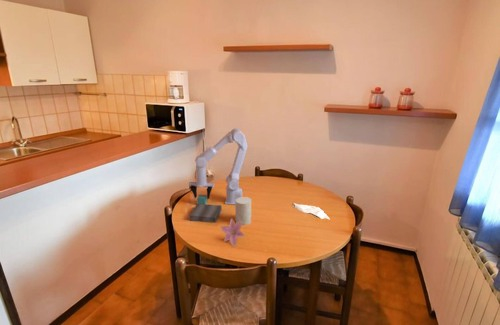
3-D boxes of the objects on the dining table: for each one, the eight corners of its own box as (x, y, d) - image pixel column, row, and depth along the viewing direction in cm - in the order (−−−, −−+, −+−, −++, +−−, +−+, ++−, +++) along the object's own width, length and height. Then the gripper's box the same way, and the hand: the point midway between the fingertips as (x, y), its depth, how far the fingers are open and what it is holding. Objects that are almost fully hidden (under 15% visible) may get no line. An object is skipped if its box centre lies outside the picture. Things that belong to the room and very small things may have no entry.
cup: (239, 226, 140) (239, 205, 137) (233, 219, 147) (233, 198, 143) (253, 222, 144) (254, 201, 140) (246, 216, 151) (246, 195, 147)
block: (207, 202, 166) (206, 195, 164) (205, 206, 161) (204, 198, 160) (199, 202, 166) (199, 194, 165) (197, 205, 162) (197, 197, 160)
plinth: (221, 210, 157) (221, 205, 156) (215, 222, 143) (215, 217, 142) (197, 208, 158) (197, 203, 157) (189, 220, 145) (189, 215, 144)
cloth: (337, 218, 151) (337, 214, 150) (319, 225, 144) (319, 221, 143) (304, 200, 172) (304, 197, 171) (287, 205, 165) (287, 202, 164)
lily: (220, 235, 134) (214, 225, 127) (241, 223, 137) (236, 212, 130) (231, 254, 126) (226, 244, 119) (253, 240, 129) (249, 230, 122)
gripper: (186, 177, 155) (187, 199, 160) (211, 179, 154) (212, 201, 158) (190, 173, 162) (191, 194, 166) (214, 175, 160) (215, 196, 165)
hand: (202, 197), depth 163 cm, fingers open, 7 cm apart
